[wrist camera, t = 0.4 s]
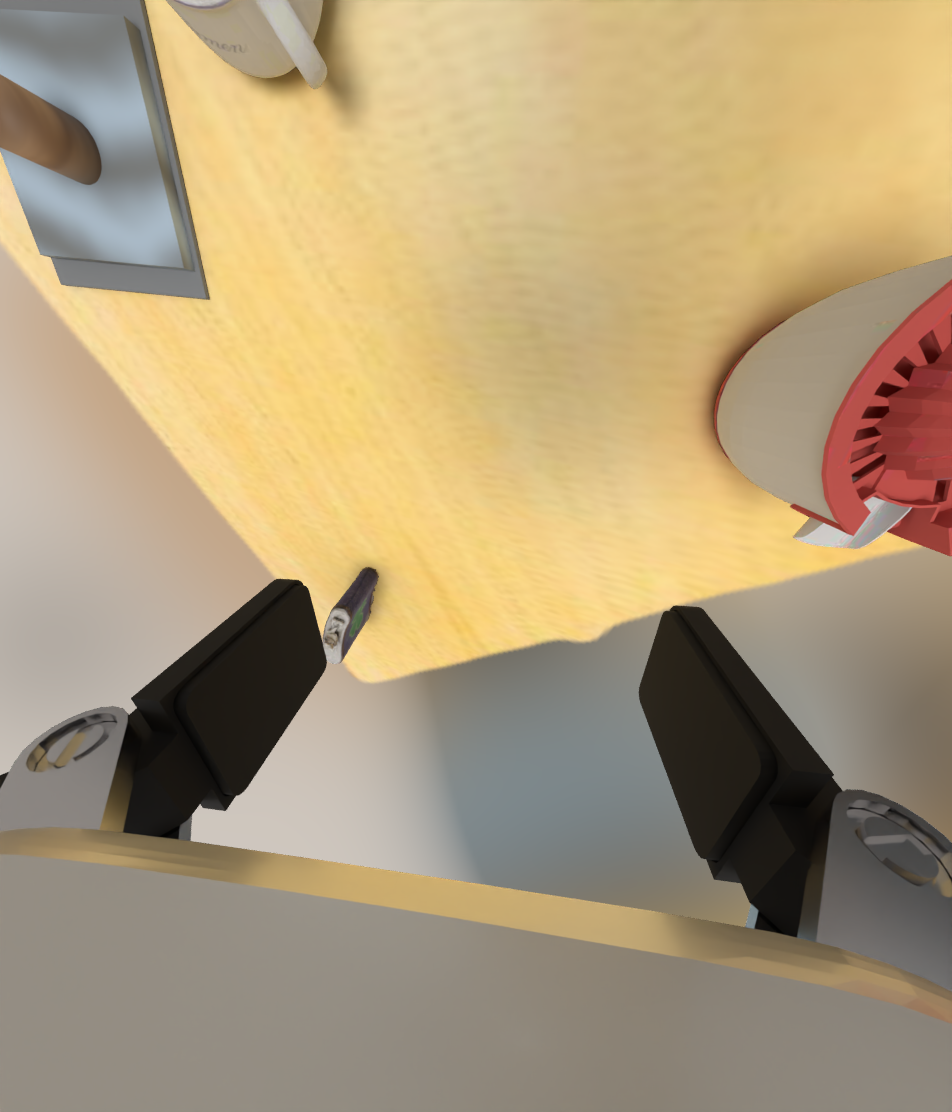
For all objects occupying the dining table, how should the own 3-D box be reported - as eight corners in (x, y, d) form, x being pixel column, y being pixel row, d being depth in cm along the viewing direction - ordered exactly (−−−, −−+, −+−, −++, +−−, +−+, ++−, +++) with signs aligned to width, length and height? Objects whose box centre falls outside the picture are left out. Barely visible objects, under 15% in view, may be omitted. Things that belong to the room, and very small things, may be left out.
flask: (369, 621, 50) (333, 679, 40) (349, 615, 49) (309, 671, 40) (381, 570, 45) (344, 621, 36) (360, 562, 45) (317, 611, 36)
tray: (-48, -18, 25) (-56, -24, 25) (142, -9, 25) (136, -15, 24) (65, 285, 34) (61, 284, 34) (209, 299, 33) (206, 298, 33)
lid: (-33, 21, 26) (-180, -74, 21) (140, 30, 25) (34, -66, 20) (56, 258, 33) (-38, 234, 27) (195, 271, 32) (127, 249, 26)
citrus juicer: (653, 480, 36) (781, 579, 18) (743, 274, 28) (1128, 97, 10) (801, 511, 36) (1073, 641, 18) (935, 312, 28) (1667, 197, 10)
